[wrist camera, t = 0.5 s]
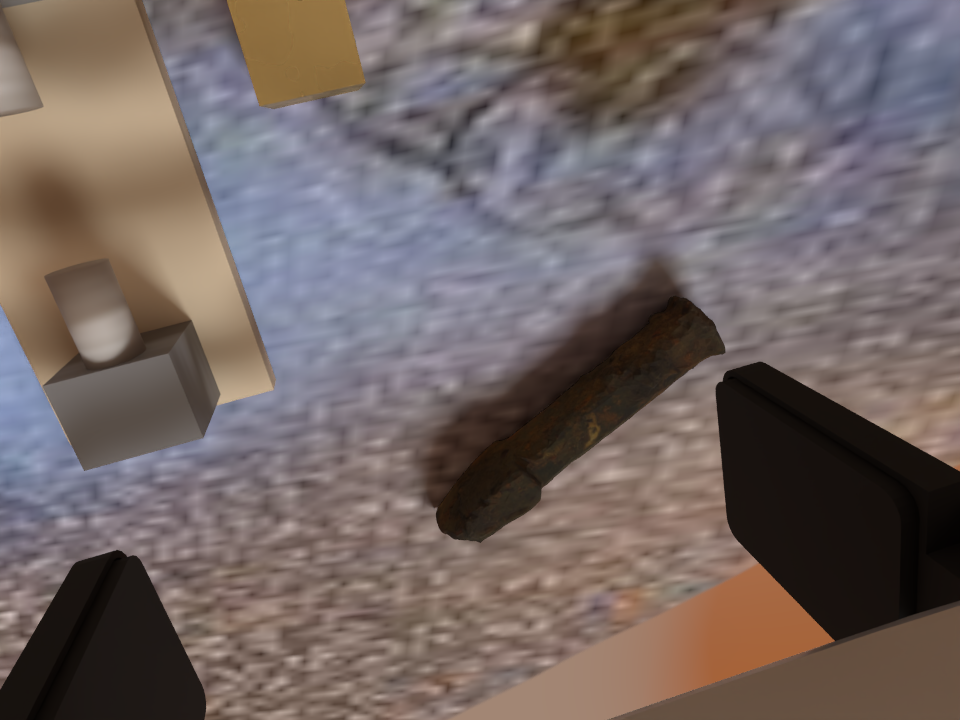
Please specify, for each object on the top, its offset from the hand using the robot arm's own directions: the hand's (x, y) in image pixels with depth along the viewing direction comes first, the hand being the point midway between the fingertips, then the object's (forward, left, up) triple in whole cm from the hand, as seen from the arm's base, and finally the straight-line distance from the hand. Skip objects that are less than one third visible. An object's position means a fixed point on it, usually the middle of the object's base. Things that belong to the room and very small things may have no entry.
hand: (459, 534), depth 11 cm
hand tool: (+12, +8, -26) cm, 30 cm away
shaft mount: (-6, -12, -26) cm, 29 cm away
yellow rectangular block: (-10, -1, -26) cm, 27 cm away
